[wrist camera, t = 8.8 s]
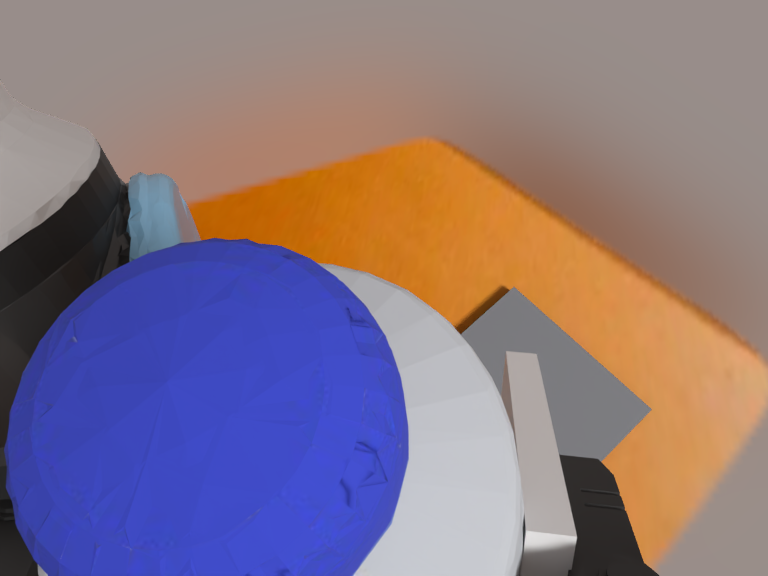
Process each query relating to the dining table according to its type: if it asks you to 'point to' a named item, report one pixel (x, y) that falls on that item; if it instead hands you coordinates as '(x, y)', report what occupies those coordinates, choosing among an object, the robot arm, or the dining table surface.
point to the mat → (559, 376)
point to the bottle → (260, 427)
